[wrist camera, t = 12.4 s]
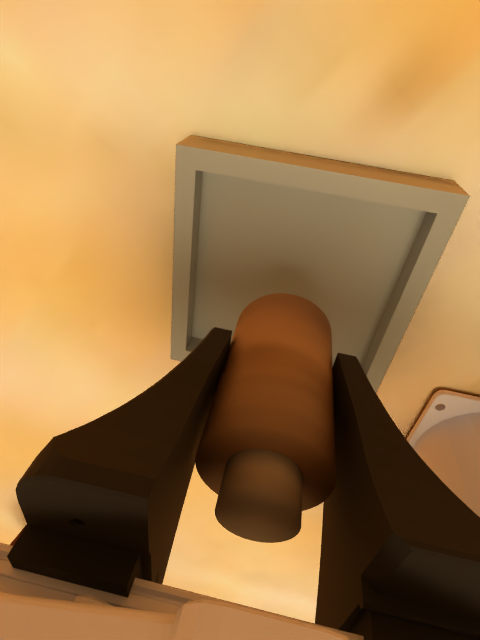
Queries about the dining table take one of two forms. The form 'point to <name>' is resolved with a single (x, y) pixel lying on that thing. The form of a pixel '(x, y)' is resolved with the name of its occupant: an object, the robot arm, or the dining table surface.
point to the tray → (304, 243)
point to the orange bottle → (272, 420)
